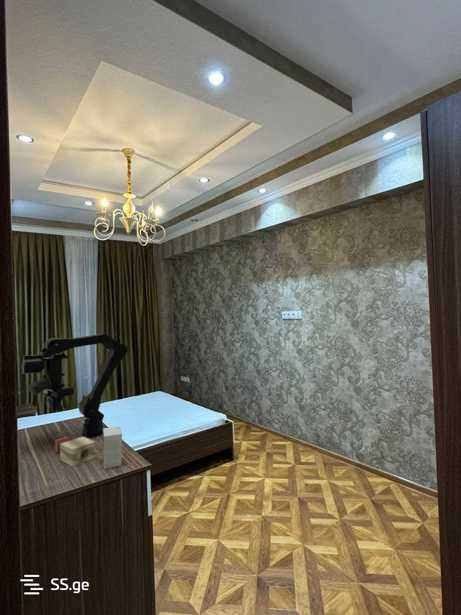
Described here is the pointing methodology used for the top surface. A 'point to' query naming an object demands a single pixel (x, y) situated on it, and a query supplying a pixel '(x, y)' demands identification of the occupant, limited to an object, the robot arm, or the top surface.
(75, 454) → the block
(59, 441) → the pin
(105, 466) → the small box
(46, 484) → the top surface
